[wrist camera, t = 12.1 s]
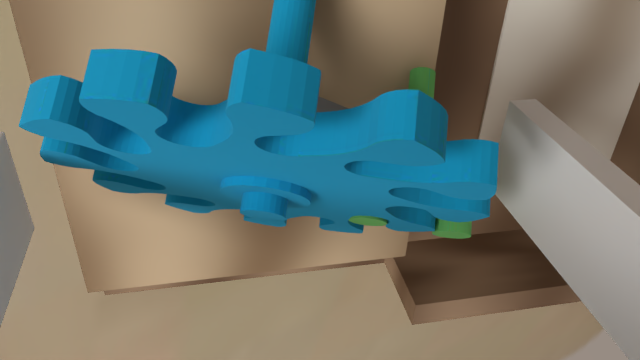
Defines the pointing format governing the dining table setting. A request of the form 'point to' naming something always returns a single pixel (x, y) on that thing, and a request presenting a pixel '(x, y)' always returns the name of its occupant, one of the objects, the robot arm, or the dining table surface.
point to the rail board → (349, 91)
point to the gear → (268, 140)
